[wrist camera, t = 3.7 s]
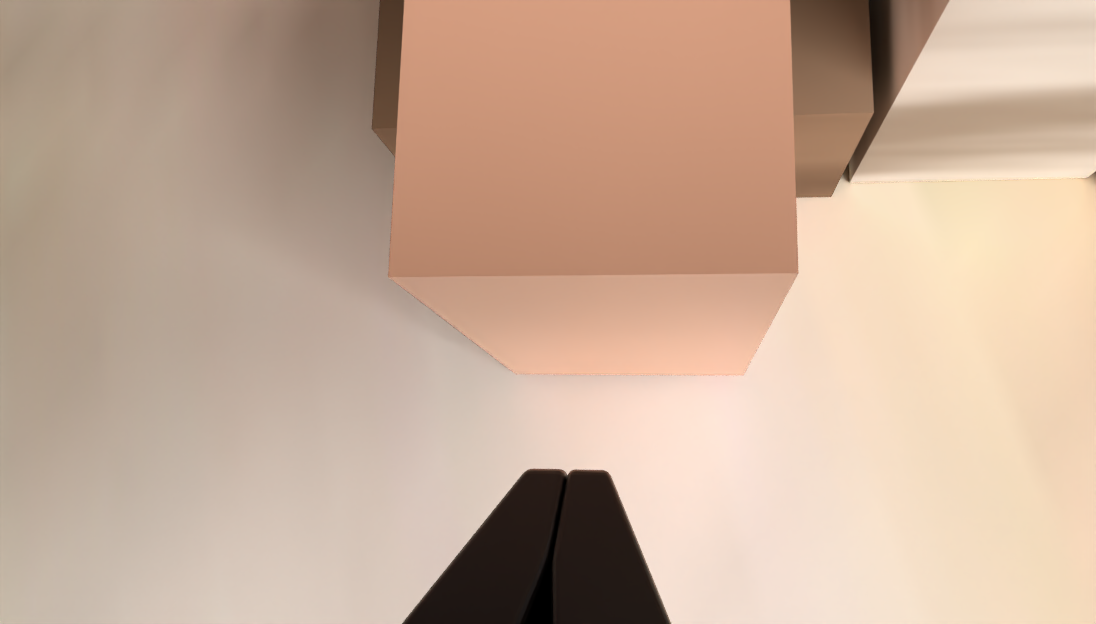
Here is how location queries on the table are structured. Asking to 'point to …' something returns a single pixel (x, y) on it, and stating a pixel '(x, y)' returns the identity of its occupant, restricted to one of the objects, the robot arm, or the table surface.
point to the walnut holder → (909, 89)
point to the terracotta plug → (598, 179)
